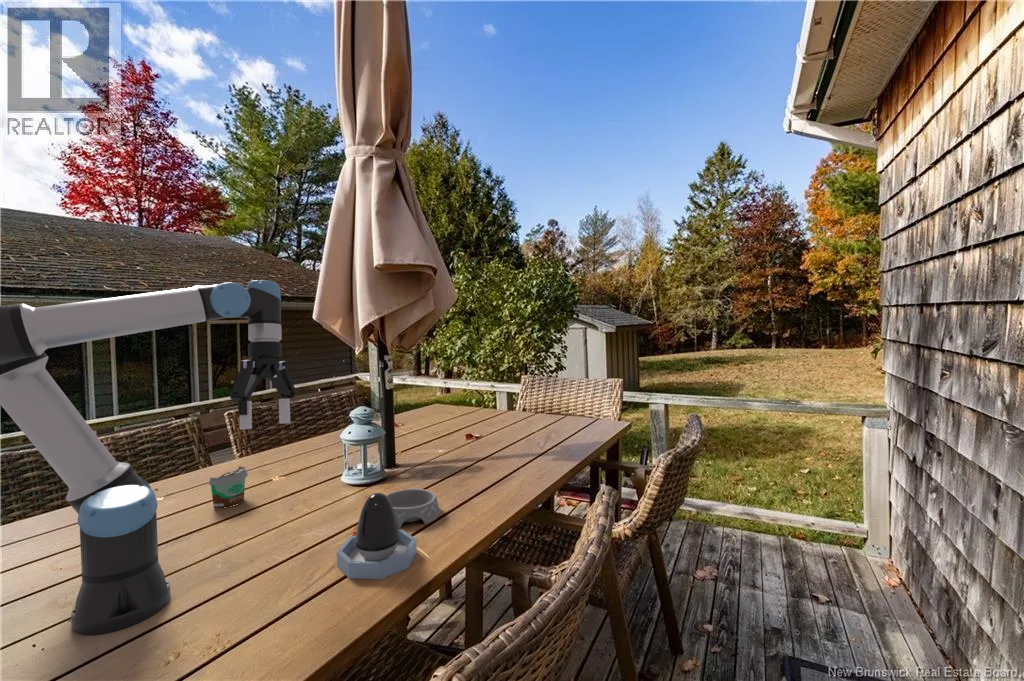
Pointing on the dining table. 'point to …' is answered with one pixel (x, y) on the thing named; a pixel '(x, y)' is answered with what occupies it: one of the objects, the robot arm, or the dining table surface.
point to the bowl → (367, 569)
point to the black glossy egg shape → (377, 528)
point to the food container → (228, 488)
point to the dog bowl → (414, 505)
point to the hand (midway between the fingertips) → (266, 426)
